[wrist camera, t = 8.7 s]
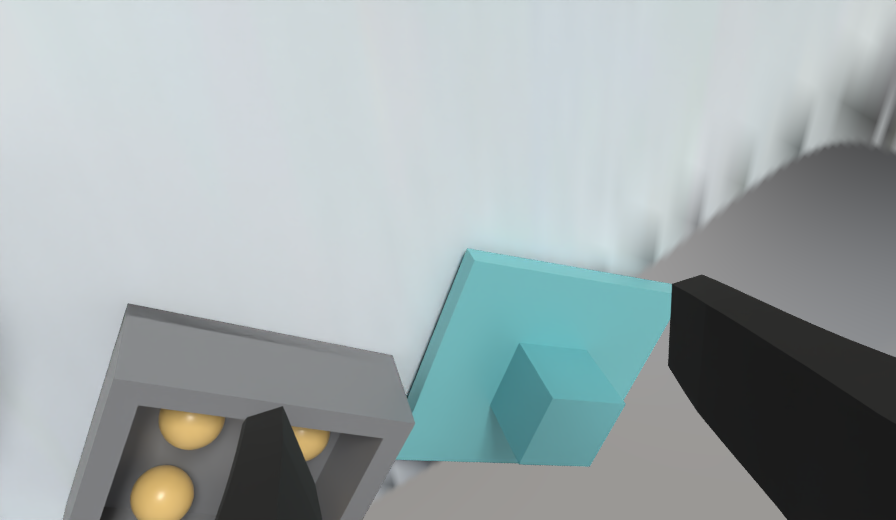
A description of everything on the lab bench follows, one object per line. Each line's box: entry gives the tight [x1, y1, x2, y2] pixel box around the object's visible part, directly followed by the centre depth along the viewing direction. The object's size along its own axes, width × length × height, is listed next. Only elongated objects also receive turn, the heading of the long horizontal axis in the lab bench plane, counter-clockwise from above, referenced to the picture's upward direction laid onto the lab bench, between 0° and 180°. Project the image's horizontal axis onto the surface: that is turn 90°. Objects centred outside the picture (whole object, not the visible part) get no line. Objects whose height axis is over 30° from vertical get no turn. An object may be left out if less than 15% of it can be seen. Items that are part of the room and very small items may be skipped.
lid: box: [396, 249, 672, 466], centre depth 25 cm, size 9×9×4 cm
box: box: [63, 304, 415, 520], centre depth 23 cm, size 9×9×4 cm
